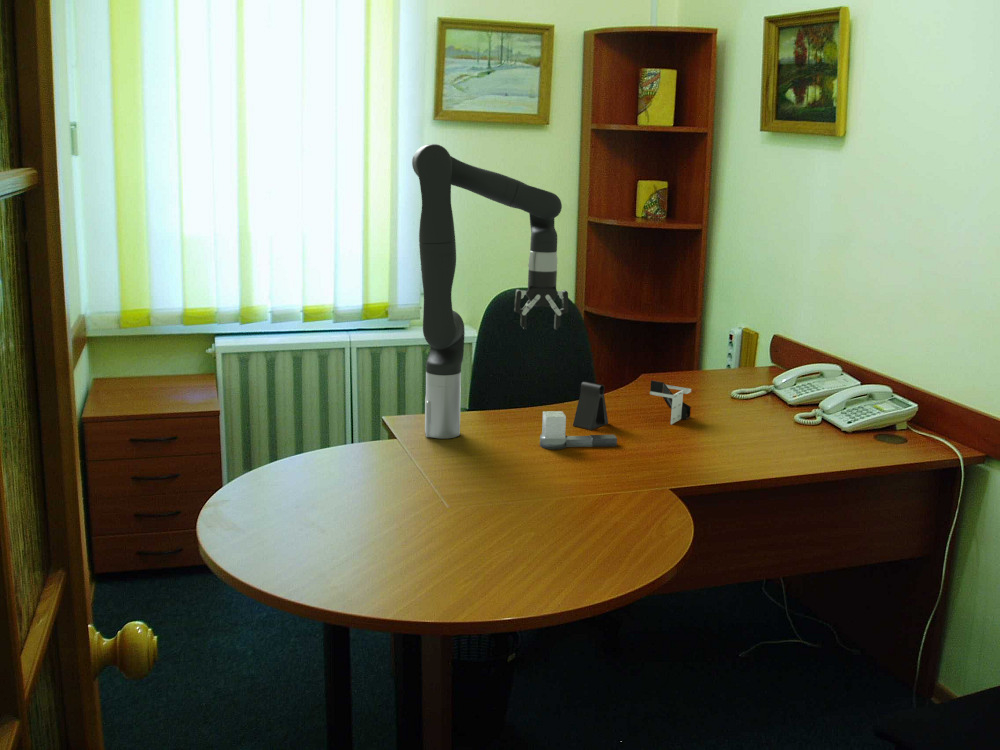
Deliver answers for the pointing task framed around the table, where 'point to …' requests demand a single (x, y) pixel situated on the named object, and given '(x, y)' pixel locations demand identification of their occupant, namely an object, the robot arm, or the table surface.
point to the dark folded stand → (591, 407)
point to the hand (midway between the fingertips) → (540, 328)
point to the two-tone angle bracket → (672, 399)
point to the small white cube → (553, 425)
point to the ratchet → (579, 441)
